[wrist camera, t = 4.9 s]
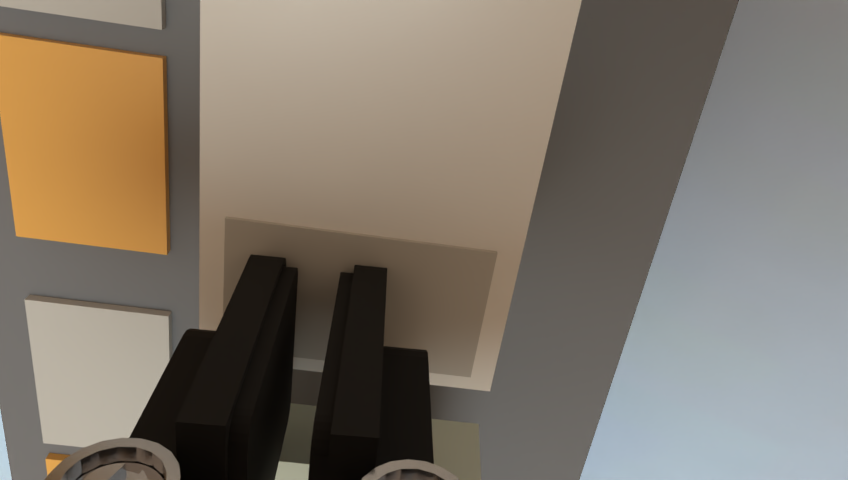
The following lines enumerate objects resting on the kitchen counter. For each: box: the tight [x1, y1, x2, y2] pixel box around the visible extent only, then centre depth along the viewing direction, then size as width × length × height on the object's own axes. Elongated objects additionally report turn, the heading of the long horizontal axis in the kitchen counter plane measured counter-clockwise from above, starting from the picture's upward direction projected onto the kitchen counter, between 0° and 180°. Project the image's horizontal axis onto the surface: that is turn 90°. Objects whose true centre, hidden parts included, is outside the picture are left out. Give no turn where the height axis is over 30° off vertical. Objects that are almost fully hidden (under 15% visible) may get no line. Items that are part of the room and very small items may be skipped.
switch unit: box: [0, 0, 739, 480], centre depth 16 cm, size 14×20×5 cm
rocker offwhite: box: [199, 0, 582, 391], centre depth 10 cm, size 5×9×1 cm, turn 172°
